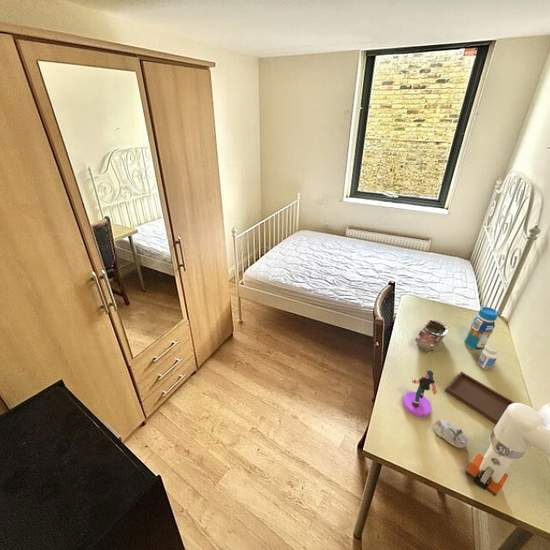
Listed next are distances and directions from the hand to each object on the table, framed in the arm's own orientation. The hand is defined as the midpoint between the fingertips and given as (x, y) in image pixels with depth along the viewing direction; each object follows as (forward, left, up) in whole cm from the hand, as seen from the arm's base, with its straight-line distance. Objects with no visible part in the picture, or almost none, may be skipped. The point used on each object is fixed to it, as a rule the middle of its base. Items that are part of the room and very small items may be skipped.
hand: (483, 478), depth 87 cm
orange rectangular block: (0, 0, 0) cm, 0 cm away
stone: (+12, -6, -1) cm, 14 cm away
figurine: (+25, -8, -1) cm, 26 cm away
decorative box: (+37, -44, -1) cm, 58 cm away
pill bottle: (+17, -51, -1) cm, 54 cm away
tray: (+12, -30, 0) cm, 32 cm away
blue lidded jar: (+25, -61, -1) cm, 66 cm away
